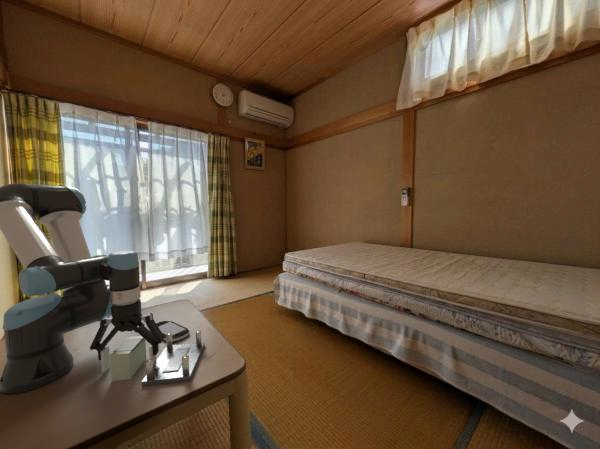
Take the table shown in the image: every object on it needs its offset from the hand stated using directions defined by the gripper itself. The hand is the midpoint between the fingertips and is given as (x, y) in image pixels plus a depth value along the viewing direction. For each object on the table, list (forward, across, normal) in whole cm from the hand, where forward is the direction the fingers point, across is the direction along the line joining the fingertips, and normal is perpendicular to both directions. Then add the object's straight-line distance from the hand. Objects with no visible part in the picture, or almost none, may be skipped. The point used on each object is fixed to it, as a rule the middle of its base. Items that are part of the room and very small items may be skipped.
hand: (130, 366), depth 75 cm
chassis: (+1, +14, 0) cm, 14 cm away
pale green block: (+1, 0, 0) cm, 1 cm away
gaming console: (+1, +4, +21) cm, 22 cm away
